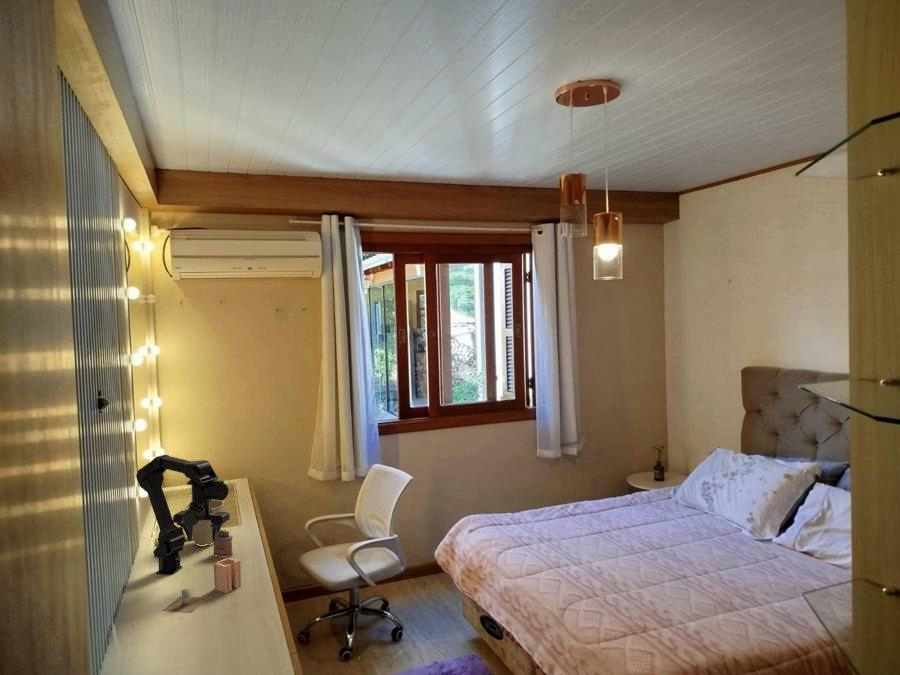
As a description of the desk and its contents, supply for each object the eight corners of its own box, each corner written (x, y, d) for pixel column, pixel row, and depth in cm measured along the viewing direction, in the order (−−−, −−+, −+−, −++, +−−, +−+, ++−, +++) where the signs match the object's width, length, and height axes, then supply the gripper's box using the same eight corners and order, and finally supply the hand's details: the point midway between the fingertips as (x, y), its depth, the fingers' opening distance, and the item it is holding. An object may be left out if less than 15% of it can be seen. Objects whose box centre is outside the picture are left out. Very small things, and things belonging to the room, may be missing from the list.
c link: (214, 589, 203) (213, 563, 203) (229, 583, 208) (228, 557, 208) (226, 593, 200) (225, 566, 200) (241, 586, 205) (240, 560, 205)
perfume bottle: (234, 554, 235) (234, 529, 235) (229, 557, 232) (228, 532, 232) (217, 552, 237) (216, 527, 237) (211, 556, 234) (210, 530, 234)
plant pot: (216, 550, 240) (215, 510, 240) (179, 550, 241) (178, 510, 240) (230, 536, 255) (229, 499, 255) (196, 537, 256) (194, 499, 255)
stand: (161, 613, 188) (161, 596, 188) (181, 598, 198) (180, 582, 198) (191, 615, 187) (190, 598, 187) (209, 600, 197) (208, 584, 196)
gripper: (162, 503, 207) (163, 548, 208) (212, 505, 204) (213, 551, 204) (181, 494, 218) (183, 537, 219) (229, 495, 215) (231, 539, 215)
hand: (202, 541), depth 214 cm, fingers open, 9 cm apart
